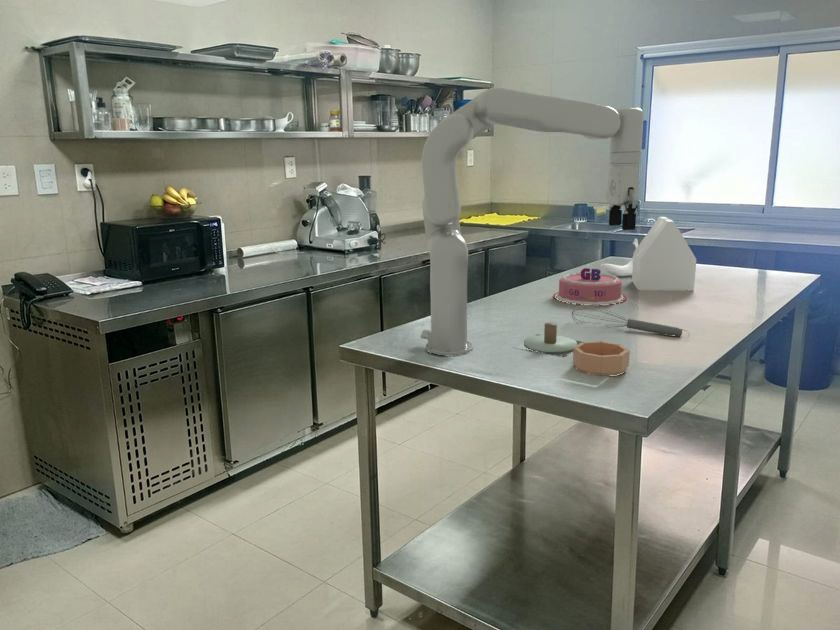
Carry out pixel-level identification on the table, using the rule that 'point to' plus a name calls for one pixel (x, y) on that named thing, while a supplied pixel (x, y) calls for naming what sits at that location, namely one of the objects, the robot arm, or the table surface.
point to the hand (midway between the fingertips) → (621, 227)
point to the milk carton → (664, 259)
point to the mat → (562, 352)
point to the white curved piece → (620, 270)
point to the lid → (550, 341)
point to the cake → (590, 288)
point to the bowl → (601, 358)
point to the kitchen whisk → (639, 324)
